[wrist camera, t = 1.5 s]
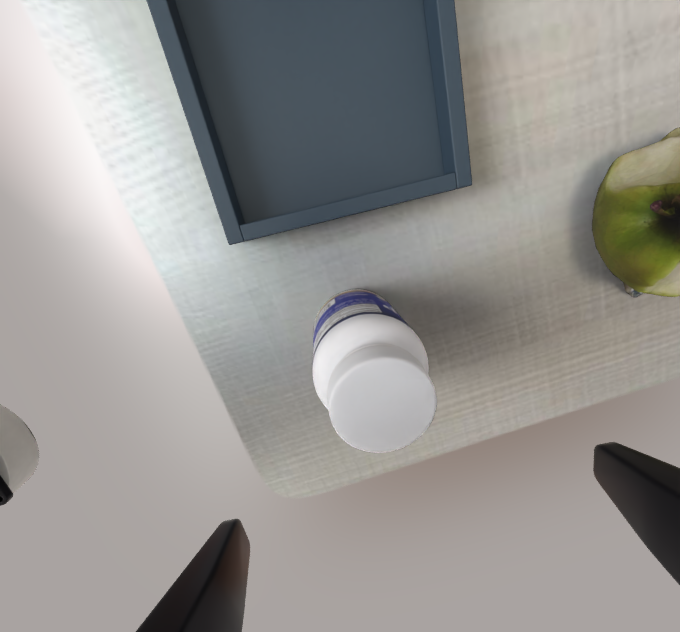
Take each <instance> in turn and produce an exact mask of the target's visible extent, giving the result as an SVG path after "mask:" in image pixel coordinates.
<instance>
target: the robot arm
mask: <svg viewBox="0 0 680 632" xmlns="http://www.w3.org/2000/svg"><path fill="white" fill-rule="evenodd" d="M594 475H595V477H596V479H597V481H598V482H599V484H600V485H601V486H602V488H603V489H604V490H605V492H606V493H607V494H608V496H609V497H610V498H611V500H612V501H613V503H614V504H615V505H616V507H617V508H618V509H619V511H620V512H621V513H622V514H623V516H624V517H625V519H626V520H627V521H628V523H629V524H630V525H631V527H632V528H633V529H634V531H635V532H636V533H637V535H638V536H639V537H640V539H641V540H642V541H643V542H644V544H645V545H646V546H647V548H648V549H649V550H650V551H651V552H652V554H653V555H654V556H655V557H656V558H657V559H658V561H659V562H660V563H661V564H662V565H663V567H664V568H665V569H666V570H667V571H668V572H669V573H670V574H671V575H672V577H673V578H674V579H675V580H676V581H677V583H678V584H679V585H680V468H678V467H676V466H673V465H670V464H668V463H666V462H663V461H661V460H658V459H656V458H653V457H651V456H648V455H646V454H643V453H641V452H638V451H636V450H633V449H631V448H628V447H626V446H623V445H621V444H618V443H615V442H609V443H605V444H600V445H597V446H596V447H595V449H594ZM12 497H13V493H12V491H11V489H10V488H9V487H8V485H7V484H6V482H5V481H4V480H3V478H2V477H1V475H0V505H4V504H6V503H7V502H8V501H9V500H10V499H11V498H12ZM249 557H250V543H249V540H248V537H247V535H246V533H245V530H244V528H243V525H242V523H241V521H240V520H239V519H232V520H228V521H224V522H222V523H221V524H220V525H219V526H218V528H217V529H216V530H215V532H214V533H213V534H212V535H211V537H210V538H209V539H208V540H207V542H206V543H205V544H204V546H203V547H202V548H201V549H200V551H199V552H198V553H197V554H196V556H195V557H194V558H193V559H192V561H191V562H190V563H189V565H188V566H187V567H186V568H185V570H184V571H183V572H182V573H181V575H180V576H179V577H178V579H177V580H176V581H175V582H174V584H173V585H172V586H171V588H170V589H169V590H168V591H167V593H166V594H165V595H164V597H163V598H162V599H161V600H160V602H159V603H158V604H157V606H156V607H155V608H154V609H153V610H152V612H151V613H150V614H149V616H148V617H147V618H146V620H145V621H144V622H143V623H142V624H141V626H140V627H139V628H138V630H137V631H136V632H242V625H243V617H244V616H243V615H244V607H245V597H246V587H247V576H248V567H249Z"/></svg>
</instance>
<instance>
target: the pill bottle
mask: <svg viewBox="0 0 680 632" xmlns="http://www.w3.org/2000/svg"><path fill="white" fill-rule="evenodd" d="M312 370H313V381H314V386H315V389H316V392H317V395H318V397H319V398H320V400H321V402H322V403H323V404H324V406H325V407H326V408H327V409H328V410H329V416H330V420H331V423H332V425H333V427H334V429H335V431H336V432H337V434H338V435H339V436H340V437H341V438H342V439H343V440H344V441H345V442H346V443H348V444H349V445H351V446H352V447H354V448H356V449H359V450H362V451H366V452H372V453H385V452H391V451H395V450H399V449H402V448H404V447H406V446H408V445H410V444H411V443H413V442H414V441H416V440H417V439H418V438H420V437H421V436H422V435H423V433H424V432H425V431H426V430H427V428H428V427H429V426H430V424H431V422H432V420H433V418H434V415H435V412H436V407H437V396H436V391H435V387H434V384H433V382H432V380H431V378H430V377H429V375H428V371H429V365H428V357H427V353H426V350H425V348H424V345H423V344H422V342H421V340H420V339H419V337H418V336H417V335H416V333H415V332H414V331H413V330H412V329H411V327H410V326H409V325H408V324H407V323H406V322H405V321H404V320H403V319H402V318H401V316H400V315H399V314H398V313H397V312H396V311H395V310H394V309H393V308H392V306H391V305H390V304H389V303H388V302H387V301H386V300H385V299H383V298H382V297H381V296H379V295H378V294H375V293H373V292H370V291H367V290H360V289H354V290H347V291H343V292H341V293H338V294H336V295H335V296H333V297H332V298H330V299H329V300H328V301H327V302H326V303H325V304H324V305H323V306H322V307H321V309H320V310H319V312H318V314H317V316H316V319H315V323H314V331H313V362H312Z"/></svg>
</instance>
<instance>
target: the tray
mask: <svg viewBox="0 0 680 632" xmlns="http://www.w3.org/2000/svg"><path fill="white" fill-rule="evenodd" d="M147 3H148V6H149V9H150V12H151V15H152V18H153V21H154V24H155V27H156V30H157V32H158V35H159V38H160V41H161V44H162V47H163V50H164V53H165V56H166V59H167V62H168V65H169V68H170V71H171V74H172V77H173V80H174V83H175V86H176V89H177V92H178V95H179V98H180V101H181V104H182V107H183V110H184V113H185V116H186V119H187V122H188V125H189V127H190V130H191V133H192V136H193V139H194V142H195V145H196V148H197V151H198V154H199V157H200V160H201V163H202V166H203V169H204V172H205V175H206V178H207V181H208V184H209V187H210V190H211V193H212V196H213V199H214V202H215V205H216V208H217V211H218V214H219V217H220V219H221V222H222V225H223V228H224V231H225V234H226V237H227V240H228V243H229V245H232V244H236V243H240V242H244V241H248V240H252V239H256V238H260V237H265V236H269V235H273V234H277V233H281V232H285V231H289V230H293V229H297V228H301V227H305V226H309V225H313V224H317V223H321V222H325V221H329V220H333V219H337V218H341V217H345V216H349V215H354V214H358V213H362V212H366V211H370V210H374V209H378V208H382V207H386V206H390V205H394V204H398V203H402V202H406V201H410V200H414V199H418V198H422V197H426V196H430V195H434V194H439V193H443V192H447V191H451V190H455V189H459V188H463V187H467V186H471V185H472V177H471V167H470V156H469V146H468V136H467V126H466V115H465V105H464V95H463V84H462V74H461V64H460V54H459V43H458V33H457V23H456V13H455V2H454V0H147Z"/></svg>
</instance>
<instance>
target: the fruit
mask: <svg viewBox="0 0 680 632" xmlns="http://www.w3.org/2000/svg"><path fill="white" fill-rule="evenodd" d="M592 231H593V236H594V240H595V245H596V248H597V250H598V252H599V254H600V256H601V258H602V259H603V261H604V263H605V264H606V266H607V267H608V269H609V270H610V271H611V272H612V273H613V275H615V276H616V277H618V278H619V279H620V280H621V281H623V283H624V287H625V291H626V292H627V293H628V294H630V295H631V296H632V297H638V296H639V295H641V294H643V293H648V294H654V295H660V296H667V297H676V296H680V127H679V128H677V129H674V130H673V131H672V132H670V133H669V134H668V135H666V136H665V137H664V138H663V139H662V140H661V141H659V142H657V143H654V144H652V145H649V146H646V147H643V148H640V149H637V150H633V151H631V152H628V153H626V154H624V155H622V156H620V157H618V158H617V159H616V160H615V161H614V162H613V163H612V165H611V166H610V168H609V170H608V172H607V174H606V176H605V177H604V179H603V181H602V183H601V185H600V187H599V189H598V192H597V196H596V199H595V203H594V209H593V221H592Z"/></svg>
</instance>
